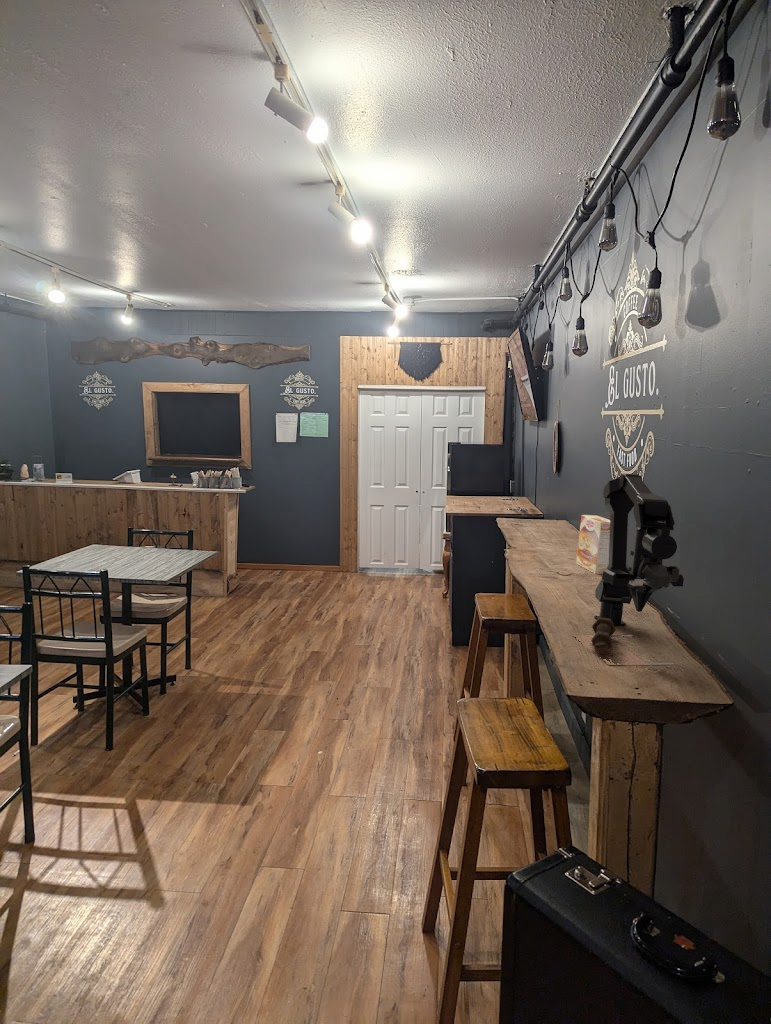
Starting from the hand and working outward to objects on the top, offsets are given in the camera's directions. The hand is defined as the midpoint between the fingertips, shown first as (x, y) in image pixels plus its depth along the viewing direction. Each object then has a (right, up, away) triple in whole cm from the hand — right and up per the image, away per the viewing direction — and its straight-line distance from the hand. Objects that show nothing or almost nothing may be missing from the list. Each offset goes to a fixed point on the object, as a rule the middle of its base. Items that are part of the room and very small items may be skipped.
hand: (638, 611), depth 154 cm
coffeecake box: (+16, +3, +83) cm, 84 cm away
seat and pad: (-4, -10, +1) cm, 11 cm away
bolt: (-8, -9, +3) cm, 13 cm away
